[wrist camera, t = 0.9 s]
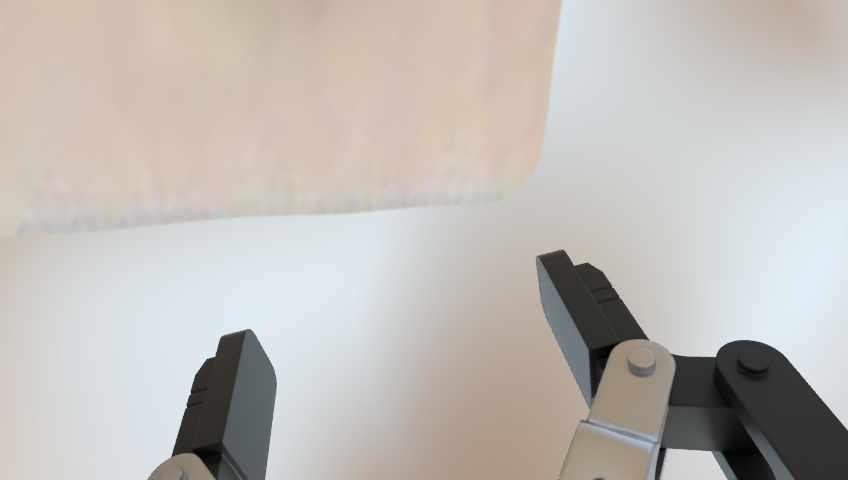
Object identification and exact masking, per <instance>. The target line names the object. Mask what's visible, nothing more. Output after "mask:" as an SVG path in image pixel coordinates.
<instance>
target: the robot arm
mask: <svg viewBox="0 0 848 480" xmlns="http://www.w3.org/2000/svg"><path fill="white" fill-rule="evenodd" d="M536 265H537V273H538V281H539V289H540V296H541V303H542V307H543V310H544V313H545V316H546V318H547V321H548V323H549V325H550V327H551V329H552V331H553V333H554V335H555V337H556V340H557V342H558V344H559V346H560V348H561V350H562V352H563V354H564V356H565V359H566V361H567V363H568V365H569V367H570V369H571V371H572V373H573V375H574V377H575V380H576V382H577V384H578V386H579V388H580V390H581V392H582V394H583V396H584V398H585V400H586V403H587V405H588V407H589V409H590V413H589V415H588V418H587V420H586V421H585V420H581V421H580V423H579V424H578V426H577V428H576V431H575V434H574V437H573V439H572V442H571V445H570V448H569V450H568V453H567V456H566V459H565V461H564V464H563V467H562V470H561V472H560V475H559V478H558V480H661V479H662V475H663V470H664V466H665V460H666V456H667V452H668V448H672V449H687V450H703V451H712V453H713V455H714V457H715V458H716V460H717V462H718V463H719V465H720V467H721V469H722V470H723V472H724V474H725V476H726V477H727V479H728V480H848V430H847V429H846V428H845V427H844V426H843V424H842V423H841V422H840V421H839V420H838V419H837V417H836V416H835V415H834V414H833V413H832V411H831V410H830V409H829V408H828V407H827V406H826V404H825V403H824V402H823V401H822V400H821V399H820V397H819V396H818V395H817V394H816V393H815V391H814V390H813V389H812V388H811V386H810V385H809V384H808V383H807V382H806V381H805V379H804V378H803V377H802V376H801V375H800V373H799V372H798V371H797V370H796V369H795V368H794V366H793V365H792V364H791V363H790V362H789V360H788V359H787V358H786V357H785V356H784V355H783V354H782V353H781V352H779V351H778V350H776V349H775V348H773V347H771V346H769V345H766V344H764V343H761V342H756V341H750V340H739V341H733V342H730V343H728V344H726V345H724V346H723V347H721V348H720V349H719V351H718V353H717V356H716V357H686V356H679V355H674V354H671V353H670V352H669V351H668V350H667V349H666V348H664V347H663V346H661V345H659V344H657V343H655V342H652V341H650V340H649V339H648V338H647V336H646V335H645V334H644V332H643V331H642V329H641V328H640V326H639V325H638V323H637V322H636V320H635V319H634V317H633V316H632V314H631V313H630V312H629V310H628V309H627V307H626V306H625V304H624V303H623V301H622V300H621V299H620V298H619V295H618V294H617V292H616V291H615V289H614V288H612V285H611V283H610V282H609V281H608V279H607V278H606V276H605V275H604V273H603V272H602V271H600V270H598V269H597V268H595V267H594V266H592V265H591V264H589V263H584V264H580V265H576V266H574V265H573V263H572V262H571V260H570V258H569V257H568V255H567V254H566V252H565V251H564V250H559V251H555V252H551V253H547V254H543V255H539V256H537V257H536ZM276 385H277V382H276V375H275V371H274V368H273V366H272V364H271V362H270V360H269V358H268V357H267V355H266V353H265V351H264V350H263V348H262V346H261V344H260V342H259V341H258V339H257V337H256V335H255V334H254V332H253V331H252V330H250V329H247V330H243V331H240V332H235V333H232V334H228V335H224V336H222V337H221V339H220V342H219V345H218V349H217V352H216V356H215V357H213V358H209V359H207V360H206V361H205V363H204V364H203V365H202V367H201V368H200V370H199V371H198V373H197V374H196V375H195V378H194V382H193V385H192V389H191V395H190V396H189V399H188V402H187V408H186V409H185V412H184V416H183V419H182V422H181V426H180V429H179V433H178V436H177V439H176V443H175V446H174V449H173V453H172V457H171V458H170V459H168V460H166V461H165V462H163V463H162V464H161V465H160V466H158V467H157V468H156V469H155V470H154V471H153V473H152V474H151V476H150V477H149V478H148V480H265V475H266V467H267V458H268V452H269V444H270V435H271V427H272V420H273V412H274V404H275V396H276Z"/></svg>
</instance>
